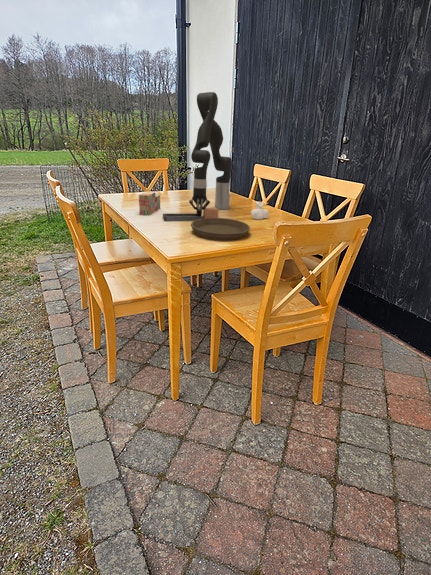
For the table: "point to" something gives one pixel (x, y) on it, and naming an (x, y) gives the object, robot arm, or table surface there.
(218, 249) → the table surface
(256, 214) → the bust
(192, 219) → the rectangular frame
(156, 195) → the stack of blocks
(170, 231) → the table surface
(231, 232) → the plant saucer
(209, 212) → the block
